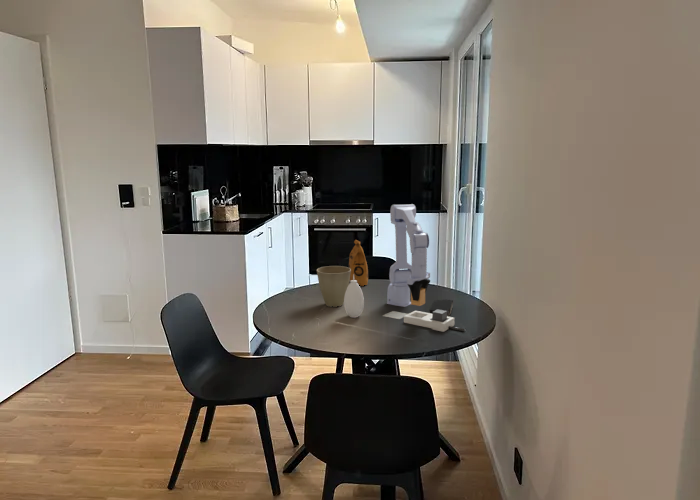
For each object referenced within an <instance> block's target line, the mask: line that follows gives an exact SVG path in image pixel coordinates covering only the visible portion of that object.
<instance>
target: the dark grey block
mask: <svg viewBox="0 0 700 500" xmlns="http://www.w3.org/2000/svg"><path fill="white" fill-rule="evenodd" d="M432 320H434V321H440V322H444V321H446V320H447V311H443V310H438V309H437V310H435V311H433V312H432Z"/></svg>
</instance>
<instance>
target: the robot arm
mask: <svg viewBox="0 0 700 500" xmlns="http://www.w3.org/2000/svg"><path fill="white" fill-rule="evenodd" d="M389 212H390V215H389V216H390V223H391V224H393V225H394V229H395V230H394V231H395V233H394V234H395V262H394V263H393V264H392V265H391V266H390V268H389V273H388V275H389V276H388V277H389V283H388V286H387V291H386V292H387V293H386V294H387V296H386V297H387V299H386V301H387V302H386V305H387V304H388V305H392V306H398V307H402V308H405V307H408V306H410V305H412V304H411V293H412V297H413V300H415V301H419V296H420V289H421V288H425V294H426V293H427V289H428V288H429V285H430V283H431V280H430V278H431V272H427V269H428V268H427V267H428V265H427V262H428V261H427V259H428V258H427V255H428V248H429V246H430V236H429V234H428V232H425V231H424V230H423V229H422V228H423V227H422V226H421V224H420V223H419V222H418V221H417V220H416V219H415V218H416V216H417V207H416V205H415V204H413V203H411V204H392V205H391V206H390V211H389ZM407 236H408V238H409V246H410V247H409V248H410V253H411V264H410V263H408V253H407V252H408V251H407V250H408V248H407V246H408V245H407V241H408V240H407Z"/></svg>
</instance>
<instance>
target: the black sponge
mask: <svg viewBox="0 0 700 500" xmlns="http://www.w3.org/2000/svg"><path fill="white" fill-rule="evenodd" d="M453 306H454V300H453V299H436V300H434V301H433V302H432V304H431V306H430V307H429V312H428V313H431V314H432V312H433V311H435V310H437V309H438V310H443V311H447V316H448V317H450V315H451V313H452V309H453Z"/></svg>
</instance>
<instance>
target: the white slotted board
mask: <svg viewBox="0 0 700 500" xmlns="http://www.w3.org/2000/svg"><path fill="white" fill-rule="evenodd" d="M406 314H407V315H405V316H404V317H403V323H405V324H410V325H414V326H418V327H419V326H420V327H424V328H429V329H431V330H434V331H437V332H438V331H439V332H446V331H447V330H449V329H450V330H454V331H455V330H456V331H459V332H465V330H466V329H465V328H461V327H457V326H455V318H456V317H452V316H447V320H446V321H444V322H440V321H434V320H432V314H431V313H429V312H425V311H419V310H414V311H412V312H409V313H406Z"/></svg>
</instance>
